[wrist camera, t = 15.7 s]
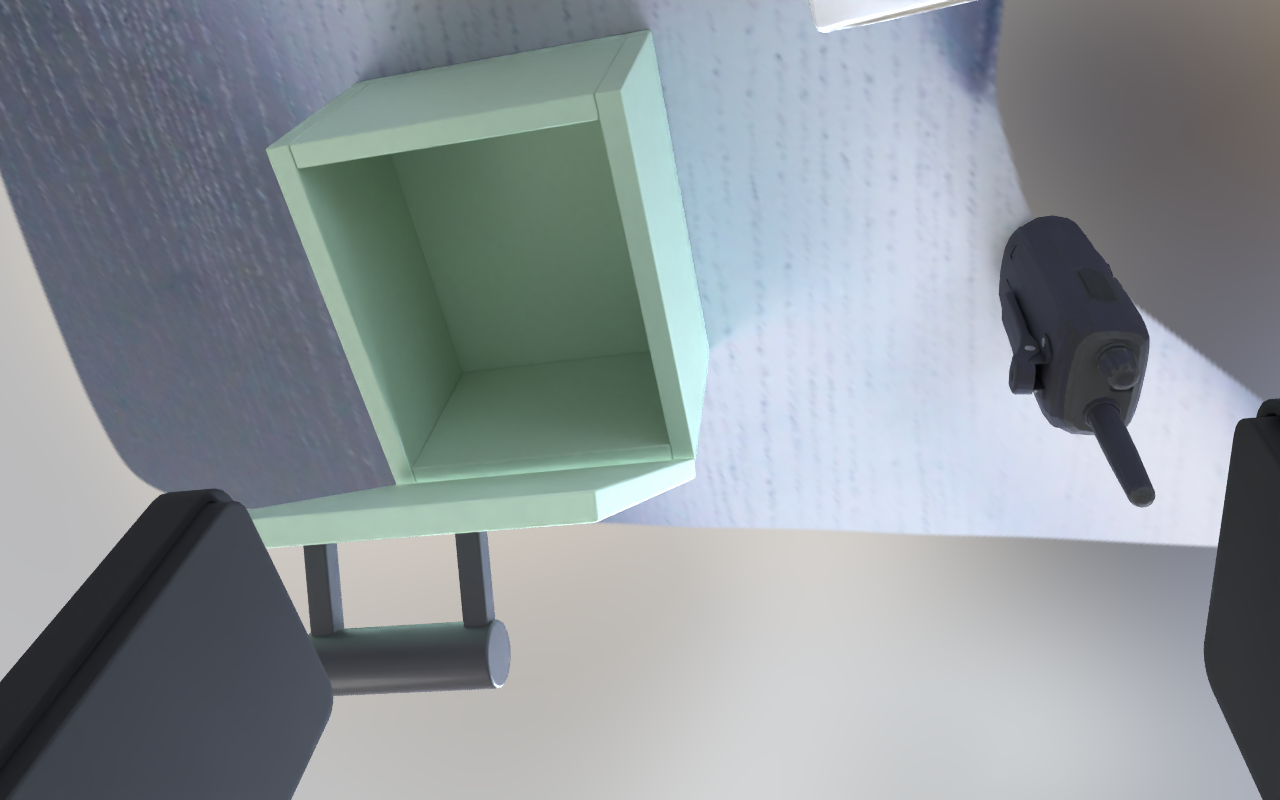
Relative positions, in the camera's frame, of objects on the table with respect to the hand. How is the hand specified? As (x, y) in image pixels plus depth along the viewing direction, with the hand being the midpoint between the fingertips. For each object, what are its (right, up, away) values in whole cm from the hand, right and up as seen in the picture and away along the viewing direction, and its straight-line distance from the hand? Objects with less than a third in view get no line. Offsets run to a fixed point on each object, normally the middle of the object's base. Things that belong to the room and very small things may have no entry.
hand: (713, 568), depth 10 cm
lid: (-6, -1, +24) cm, 24 cm away
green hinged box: (-5, +9, +35) cm, 37 cm away
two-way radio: (+16, +7, +34) cm, 38 cm away
